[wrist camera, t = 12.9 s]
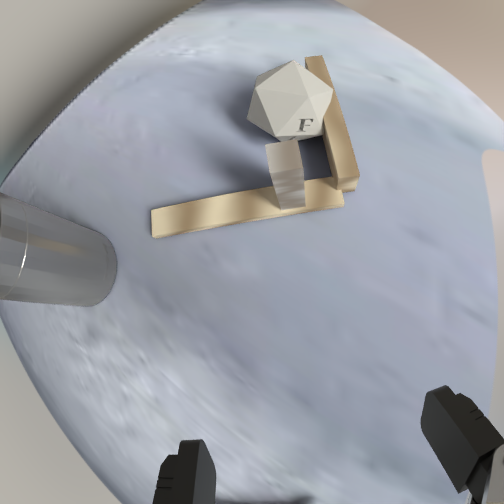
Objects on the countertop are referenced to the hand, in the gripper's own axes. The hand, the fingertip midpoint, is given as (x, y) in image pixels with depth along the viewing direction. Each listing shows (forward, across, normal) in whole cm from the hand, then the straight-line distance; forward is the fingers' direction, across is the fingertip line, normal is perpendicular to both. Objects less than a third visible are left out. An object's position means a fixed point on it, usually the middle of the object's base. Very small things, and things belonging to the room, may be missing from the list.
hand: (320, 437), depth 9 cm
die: (+29, -6, -13) cm, 32 cm away
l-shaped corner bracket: (+28, 0, -11) cm, 30 cm away
